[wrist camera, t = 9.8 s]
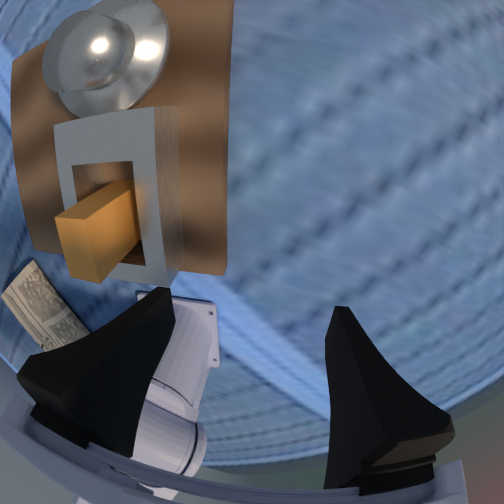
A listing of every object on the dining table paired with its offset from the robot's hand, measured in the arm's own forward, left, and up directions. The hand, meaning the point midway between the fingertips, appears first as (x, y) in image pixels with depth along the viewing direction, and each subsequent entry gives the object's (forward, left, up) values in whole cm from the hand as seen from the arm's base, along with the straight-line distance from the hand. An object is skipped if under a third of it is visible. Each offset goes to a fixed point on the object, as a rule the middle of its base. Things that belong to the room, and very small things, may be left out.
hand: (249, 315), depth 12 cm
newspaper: (-27, +27, -11) cm, 39 cm away
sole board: (+7, +14, -10) cm, 18 cm away
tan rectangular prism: (+1, +10, -8) cm, 13 cm away
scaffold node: (+7, +10, -8) cm, 15 cm away
